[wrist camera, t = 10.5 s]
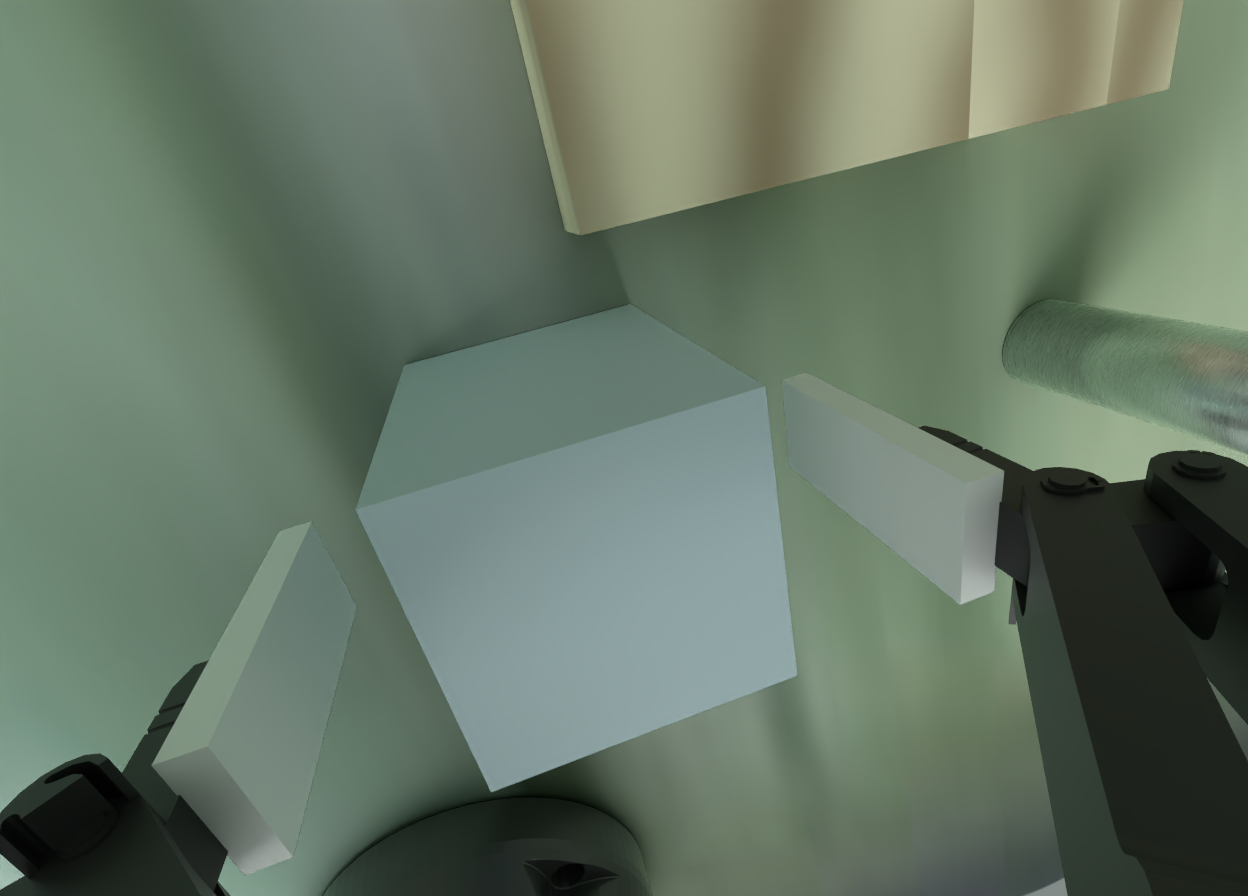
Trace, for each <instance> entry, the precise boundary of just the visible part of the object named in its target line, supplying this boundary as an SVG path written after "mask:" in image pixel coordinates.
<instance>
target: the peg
mask: <svg viewBox="0 0 1248 896" xmlns="http://www.w3.org/2000/svg"><path fill="white" fill-rule="evenodd" d="M1003 364H1004V367H1005V370H1006V371H1007V373H1008V374H1009V375H1010V376H1011V377H1012V378H1014V379H1016V380H1018V381H1021V382H1025V383H1028V384H1031V385H1034V386H1037V387H1040V388H1043V389H1046V390H1049V391H1052V392H1056V393H1059V394H1062V395H1065V396H1068V397H1071V398H1074V399H1077V400H1080V401H1084V402H1087V403H1090V404H1093V405H1096V406H1099V407H1102V408H1105V409H1108V410H1111V411H1115V412H1118V413H1121V414H1124V415H1127V416H1130V417H1133V418H1136V419H1139V420H1142V421H1146V422H1149V423H1152V424H1155V425H1158V426H1161V427H1164V428H1167V429H1170V430H1173V431H1177V432H1180V433H1183V434H1186V435H1189V436H1192V437H1195V438H1198V439H1201V440H1204V441H1208V442H1211V443H1214V444H1217V445H1220V446H1223V447H1226V448H1229V449H1232V450H1236V451H1239V452H1242V453H1245V454H1248V332H1247V331H1241V330H1235V329H1229V328H1223V327H1217V326H1211V325H1205V324H1199V323H1193V322H1187V321H1181V320H1175V319H1169V318H1163V317H1157V316H1151V315H1145V314H1139V313H1133V312H1127V311H1121V310H1115V309H1109V308H1103V307H1097V306H1091V305H1085V304H1079V303H1073V302H1067V301H1061V300H1055V299H1046V300H1042V301H1039V302H1037V303H1035V304H1033V305H1031V306H1030V307H1028V308H1027V309H1026V310H1025V311H1024V312H1022V314H1021V315H1020V316H1019V317H1018V318H1017V319H1016V320H1015V322H1014V323H1013V325H1012V326H1011V328H1010V330H1009V332H1008V334H1007V336H1006V339H1005V342H1004V346H1003Z"/></svg>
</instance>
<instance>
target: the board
mask: <svg viewBox="0 0 1248 896" xmlns="http://www.w3.org/2000/svg"><path fill="white" fill-rule="evenodd" d="M1183 2H1184V0H510V3H511V7H512V11H513V15H514V19H515V24H516V28H517V32H518V36H519V40H520V44H521V49H522V53H523V57H524V61H525V65H526V70H527V74H528V78H529V82H530V86H531V91H532V95H533V99H534V103H535V107H536V111H537V116H538V120H539V124H540V128H541V132H542V137H543V141H544V145H545V149H546V153H547V158H548V162H549V166H550V170H551V174H552V178H553V183H554V187H555V191H556V195H557V199H558V204H559V208H560V212H561V216H562V220H563V225H564V229H565V231H567V232H571V233H574V234H578V235H585V234H589V233H593V232H597V231H601V230H605V229H609V228H613V227H617V226H621V225H625V224H629V223H633V222H637V221H641V220H645V219H649V218H653V217H657V216H661V215H665V214H669V213H673V212H677V211H681V210H685V209H689V208H693V207H697V206H701V205H705V204H709V203H714V202H718V201H722V200H726V199H730V198H734V197H738V196H742V195H746V194H750V193H754V192H758V191H762V190H766V189H770V188H774V187H778V186H782V185H786V184H790V183H794V182H798V181H802V180H806V179H810V178H814V177H818V176H822V175H826V174H830V173H834V172H838V171H842V170H846V169H850V168H854V167H858V166H862V165H866V164H870V163H874V162H878V161H882V160H886V159H890V158H894V157H898V156H902V155H906V154H910V153H914V152H918V151H922V150H926V149H930V148H934V147H938V146H942V145H947V144H951V143H955V142H959V141H963V140H967V139H971V138H975V137H979V136H983V135H987V134H991V133H995V132H999V131H1003V130H1007V129H1011V128H1015V127H1019V126H1023V125H1027V124H1031V123H1035V122H1039V121H1043V120H1047V119H1051V118H1055V117H1059V116H1063V115H1067V114H1071V113H1075V112H1079V111H1083V110H1087V109H1091V108H1095V107H1099V106H1103V105H1107V104H1111V103H1115V102H1119V101H1123V100H1127V99H1131V98H1135V97H1139V96H1143V95H1147V94H1151V93H1155V92H1159V91H1163V90H1167V89H1169V85H1170V79H1171V73H1172V67H1173V61H1174V55H1175V50H1176V44H1177V38H1178V32H1179V26H1180V20H1181V14H1182V8H1183Z"/></svg>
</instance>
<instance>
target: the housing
mask: <svg viewBox="0 0 1248 896" xmlns="http://www.w3.org/2000/svg"><path fill="white" fill-rule="evenodd" d="M355 510H356V512H357V514H358V517H359V519H360V521H361V523H362V525H363V527H364V529H365V531H366V533H367V535H368V537H369V539H370V542H371V544H372V546H373V548H374V550H375V552H376V554H377V556H378V558H379V560H380V562H381V564H382V566H383V569H384V571H385V573H386V575H387V577H388V579H389V581H390V583H391V585H392V587H393V589H394V591H395V594H396V596H397V598H398V600H399V602H400V604H401V606H402V608H403V610H404V612H405V614H406V616H407V618H408V621H409V623H410V625H411V627H412V629H413V631H414V633H415V635H416V637H417V639H418V641H419V643H420V645H421V648H422V650H423V652H424V654H425V656H426V658H427V660H428V662H429V664H430V666H431V668H432V670H433V673H434V675H435V677H436V679H437V681H438V683H439V685H440V687H441V689H442V691H443V693H444V695H445V698H446V700H447V702H448V704H449V706H450V708H451V710H452V712H453V714H454V716H455V718H456V720H457V722H458V725H459V727H460V729H461V731H462V733H463V735H464V737H465V739H466V741H467V743H468V745H469V747H470V750H471V752H472V754H473V756H474V758H475V760H476V762H477V764H478V766H479V768H480V770H481V772H482V774H483V777H484V779H485V781H486V783H487V785H488V787H489V789H490V791H491V792H494V791H496V790H499V789H501V788H504V787H507V786H509V785H512V784H515V783H517V782H520V781H522V780H525V779H528V778H530V777H533V776H536V775H538V774H541V773H543V772H546V771H549V770H551V769H554V768H557V767H559V766H562V765H564V764H567V763H570V762H572V761H575V760H578V759H580V758H583V757H585V756H588V755H591V754H593V753H596V752H599V751H601V750H604V749H606V748H609V747H612V746H614V745H617V744H620V743H622V742H625V741H627V740H630V739H633V738H635V737H638V736H641V735H643V734H646V733H648V732H651V731H654V730H656V729H659V728H661V727H664V726H667V725H669V724H672V723H675V722H677V721H680V720H682V719H685V718H688V717H690V716H693V715H696V714H698V713H701V712H703V711H706V710H709V709H711V708H714V707H717V706H719V705H722V704H724V703H727V702H730V701H732V700H735V699H738V698H740V697H743V696H745V695H748V694H751V693H753V692H756V691H759V690H761V689H764V688H766V687H769V686H772V685H774V684H777V683H780V682H782V681H785V680H787V679H790V678H793V677H795V676H797V668H796V659H795V650H794V641H793V632H792V622H791V613H790V604H789V595H788V586H787V577H786V568H785V559H784V550H783V540H782V531H781V522H780V513H779V504H778V495H777V486H776V477H775V467H774V458H773V449H772V440H771V431H770V422H769V413H768V404H767V395H766V386H764V385H763V384H761V383H759V382H758V381H756V380H754V379H753V378H751V377H749V376H748V375H746V374H745V373H743V372H741V371H740V370H738V369H736V368H735V367H733V366H731V365H730V364H728V363H726V362H725V361H723V360H722V359H720V358H718V357H717V356H715V355H713V354H712V353H710V352H708V351H707V350H705V349H703V348H702V347H700V346H699V345H697V344H695V343H694V342H692V341H690V340H689V339H687V338H685V337H684V336H682V335H680V334H679V333H677V332H676V331H674V330H672V329H671V328H669V327H667V326H666V325H664V324H662V323H661V322H659V321H658V320H656V319H654V318H653V317H651V316H649V315H648V314H646V313H644V312H643V311H641V310H639V309H638V308H636V307H635V306H633V305H631V304H629V305H625V306H621V307H618V308H614V309H610V310H607V311H603V312H599V313H595V314H592V315H588V316H584V317H581V318H577V319H573V320H569V321H566V322H562V323H558V324H555V325H551V326H547V327H544V328H540V329H536V330H532V331H529V332H525V333H521V334H518V335H514V336H510V337H506V338H503V339H499V340H495V341H492V342H488V343H484V344H481V345H477V346H473V347H469V348H466V349H462V350H458V351H455V352H451V353H447V354H443V355H440V356H436V357H432V358H429V359H425V360H421V361H417V362H414V363H410V364H406V365H404V368H403V370H402V373H401V376H400V379H399V382H398V385H397V388H396V391H395V394H394V397H393V400H392V403H391V406H390V409H389V412H388V415H387V418H386V421H385V424H384V427H383V430H382V433H381V435H380V438H379V441H378V444H377V447H376V450H375V453H374V456H373V459H372V462H371V465H370V468H369V471H368V474H367V477H366V480H365V483H364V486H363V489H362V492H361V495H360V498H359V500H358V503H357V506H356V509H355Z"/></svg>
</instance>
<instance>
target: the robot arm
mask: <svg viewBox="0 0 1248 896" xmlns="http://www.w3.org/2000/svg"><path fill="white" fill-rule="evenodd" d="M781 384H782V394H783V404H784V415H785V425H786V435H787V446H788V456H789V466H790V467H791V468H792V469H793V470H794V471H796V472H797V473H798V474H799V475H800V476H802V477H803V478H804V479H805V480H807V481H808V482H809V483H810V484H812V485H813V486H814V487H815V488H817V489H818V490H819V491H820V492H821V493H823V494H824V495H825V496H826V497H828V498H829V499H830V500H831V501H833V502H834V503H835V504H836V505H838V506H839V507H840V508H841V509H843V510H844V511H845V512H846V513H847V514H849V515H850V516H851V517H852V518H854V519H855V520H856V521H857V522H859V523H860V524H861V525H862V526H864V527H865V528H866V529H867V530H868V531H870V532H871V533H872V534H873V535H875V536H876V537H877V538H878V539H880V540H881V541H882V542H883V543H885V544H886V545H887V546H888V547H890V548H891V549H892V550H893V551H894V552H896V553H897V554H898V555H899V556H901V557H902V558H903V559H904V560H906V561H907V562H908V563H909V564H911V565H912V566H913V567H914V568H915V569H917V570H918V571H919V572H920V573H922V574H923V575H924V576H925V577H927V578H928V579H929V580H930V581H932V582H933V583H934V584H935V585H937V586H938V587H939V588H940V589H941V590H943V591H944V592H945V593H946V594H948V595H949V596H950V597H951V598H953V599H954V600H955V601H956V602H958V603H959V604H960V605H961V604H964V603H966V602H969V601H971V600H974V599H977V598H979V597H982V596H985V595H987V594H990V593H993V592H994V586H995V574H996V566H997V567H998V568H999V569H1001V570H1002V571H1004V572H1005V573H1007V574H1008V575H1010V576H1011V577H1013V585H1012V594H1011V604H1010V614H1009V624H1016V620H1017V625H1018V631H1019V636H1020V642H1021V647H1022V652H1023V658H1024V663H1025V668H1026V674H1027V679H1028V685H1029V690H1030V695H1031V701H1032V706H1033V711H1034V717H1035V722H1036V728H1037V733H1038V738H1039V744H1040V749H1041V754H1042V760H1043V765H1044V771H1045V776H1046V781H1047V787H1048V792H1049V797H1050V803H1051V808H1052V814H1053V819H1054V824H1055V830H1056V835H1057V840H1058V846H1059V851H1060V857H1061V862H1062V867H1063V873H1064V878H1065V883H1066V888H1067V894H1068V896H1248V761H1247V759H1246V757H1245V755H1244V753H1243V751H1242V749H1241V747H1240V745H1239V743H1238V741H1237V739H1236V737H1235V735H1234V733H1233V731H1232V729H1231V727H1230V725H1229V723H1228V721H1227V718H1226V716H1225V714H1224V712H1223V710H1222V708H1221V706H1220V704H1219V702H1218V700H1217V698H1216V696H1215V694H1214V692H1213V690H1212V688H1211V686H1210V684H1209V682H1208V680H1207V678H1208V679H1209V681H1210V682H1211V683H1212V684H1213V685H1214V686H1215V687H1216V689H1217V690H1218V691H1219V692H1220V693H1221V694H1222V696H1223V697H1224V698H1225V699H1226V700H1227V701H1228V703H1229V704H1230V705H1231V706H1232V707H1233V708H1234V710H1235V711H1236V712H1237V713H1238V714H1239V715H1240V716H1241V718H1242V719H1243V720H1244V721H1245V722H1246V723H1247V725H1248V467H1247V466H1245V465H1243V464H1241V463H1239V462H1237V461H1235V460H1233V459H1231V458H1227V457H1224V456H1220V455H1216V454H1214V453H1211V452H1205V451H1202V452H1200V451H1196V450H1188V451H1172V452H1166V453H1161V454H1158V455H1156V456H1155V457H1153V458H1151V459H1150V462H1149V465H1148V470H1147V475H1146V479H1143V480H1135V481H1127V482H1118V483H1110V484H1109V483H1108V482H1107V481H1106V480H1105V479H1104V478H1102V477H1100V476H1098V475H1096V474H1094V473H1091V472H1087V471H1083V470H1079V469H1074V468H1063V467H1054V468H1042V469H1039V470H1035V471H1032V470H1030V469H1028V468H1026V467H1023V466H1021V465H1019V464H1017V463H1015V462H1013V461H1011V460H1009V459H1007V458H1004V457H1002V456H1000V455H998V454H996V453H994V452H992V451H990V450H987V449H984V450H983V448H982V447H981V446H979V445H977V444H975V443H973V442H967V440H966V439H964V438H962V437H960V436H958V435H956V434H954V433H951V432H949V431H946V430H941V429H937V428H932V427H928V426H922V427H919V428H917V427H915V426H913V425H911V424H909V423H907V422H905V421H903V420H901V419H899V418H897V417H895V416H893V415H891V414H889V413H887V412H885V411H883V410H881V409H879V408H877V407H875V406H873V405H871V404H869V403H867V402H865V401H863V400H861V399H859V398H857V397H855V396H853V395H851V394H849V393H847V392H845V391H843V390H841V389H839V388H836V387H834V386H832V385H830V384H828V383H826V382H824V381H822V380H820V379H818V378H816V377H814V376H812V375H810V374H808V373H803V374H799V375H796V376H793V377H789V378H786V379H783V380H781ZM1225 569H1226V571H1227V573H1226V572H1225ZM356 609H357V606H356V604H355V603H354V601H353V599H352V597H351V595H350V593H349V591H348V589H347V587H346V585H345V583H344V582H343V580H342V578H341V576H340V574H339V572H338V570H337V568H336V566H335V564H334V562H333V561H332V559H331V557H330V555H329V553H328V551H327V549H326V547H325V545H324V543H323V541H322V540H321V538H320V536H319V534H318V532H317V530H316V528H315V526H314V524H313V522H312V521H311V522H307V523H304V524H301V525H297V526H294V527H291V528H287V529H284V530H281V531H279V533H278V535H277V537H276V538H275V540H274V542H273V544H272V546H271V548H270V549H269V551H268V553H267V555H266V557H265V558H264V560H263V562H262V564H261V566H260V568H259V569H258V571H257V573H256V575H255V577H254V579H253V580H252V582H251V584H250V586H249V588H248V590H247V591H246V593H245V595H244V597H243V599H242V601H241V602H240V604H239V606H238V608H237V610H236V612H235V613H234V615H233V617H232V619H231V621H230V623H229V624H228V626H227V628H226V630H225V632H224V634H223V635H222V637H221V639H220V641H219V643H218V645H217V646H216V648H215V650H214V652H213V654H212V656H211V657H210V659H209V661H206V662H203V663H200V664H197V665H194V666H193V667H192V668H191V669H190V670H189V671H188V673H187V674H186V675H185V676H184V677H183V678H182V679H181V680H180V681H179V682H178V683H177V684H176V685H175V686H174V687H173V688H172V689H171V691H170V693H169V694H168V696H167V698H166V699H165V701H164V703H163V705H162V706H161V708H160V710H159V715H157V716H155V718H154V720H153V721H152V723H151V725H150V727H149V728H148V734H146V735H144V737H143V738H142V740H141V742H140V743H139V745H138V747H137V749H136V750H135V752H134V754H133V755H132V757H131V759H130V760H129V762H128V764H127V765H126V767H125V769H124V771H123V772H122V773H121V772H120V771H119V770H118V769H117V768H116V766H115V765H114V764H113V763H112V762H111V761H110V760H109V759H108V758H107V757H105V756H103V755H102V754H90V755H84V756H81V757H78V758H76V759H73V760H71V761H68V762H65V763H64V764H62V765H60V766H58V767H57V768H55V769H53V770H51V771H50V772H48V773H46V774H45V775H43V776H41V777H40V778H39V779H37V780H36V781H35V782H34V783H32V784H31V785H30V786H28V787H27V788H26V789H24V790H23V791H22V792H20V793H19V794H18V795H17V796H16V797H15V798H14V799H13V800H12V801H11V802H10V803H9V804H8V805H7V806H6V807H5V808H4V809H3V810H2V812H1V813H0V854H1V855H2V856H4V857H5V858H6V859H7V860H8V861H9V862H10V863H11V864H13V865H14V866H15V867H16V868H17V869H18V870H19V871H21V872H22V873H23V874H24V875H25V876H24V877H22V878H20V879H18V880H17V881H15V882H13V883H11V884H10V885H8V886H6V887H5V888H3V889H1V890H0V896H230V895H229V894H228V892H227V891H226V890H225V889H224V888H223V887H222V885H221V884H220V883H219V882H218V878H219V876H220V873H221V870H222V867H223V864H224V862H225V859H226V856H227V855H228V856H229V858H230V859H231V860H232V861H233V862H234V863H235V865H236V866H237V867H238V868H239V869H240V871H241V872H242V873H243V874H244V875H248V874H251V873H253V872H256V871H259V870H261V869H264V868H267V867H269V866H272V865H274V864H277V863H280V862H282V861H285V860H288V859H290V858H293V857H294V853H295V849H296V845H297V841H298V837H299V833H300V829H301V825H302V821H303V817H304V814H305V810H306V806H307V802H308V798H309V794H310V790H311V786H312V782H313V778H314V774H315V770H316V766H317V762H318V758H319V754H320V750H321V747H322V743H323V739H324V735H325V731H326V727H327V723H328V719H329V715H330V711H331V707H332V703H333V699H334V695H335V691H336V687H337V683H338V680H339V676H340V672H341V668H342V664H343V660H344V656H345V652H346V648H347V644H348V640H349V636H350V632H351V628H352V624H353V620H354V616H355V613H356ZM1206 677H1207V678H1206ZM323 896H653V894H652V891H651V887H650V883H649V880H648V876H647V872H646V869H645V865H644V862H643V858H642V854H641V851H640V849H639V846H638V845H637V843H636V841H635V839H634V838H633V836H632V835H631V834H630V833H629V832H628V830H627V829H626V828H625V827H624V826H622V825H621V824H620V823H619V822H618V821H616V820H615V819H613V818H612V817H610V816H609V815H607V814H605V813H603V812H601V811H599V810H597V809H594V808H592V807H589V806H586V805H583V804H579V803H575V802H571V801H566V800H559V799H551V798H509V799H499V800H492V801H486V802H481V803H476V804H471V805H467V806H463V807H459V808H456V809H452V810H449V811H446V812H443V813H440V814H437V815H434V816H431V817H429V818H426V819H424V820H422V821H419V822H417V823H415V824H412V825H410V826H408V827H406V828H404V829H402V830H400V831H398V832H396V833H395V834H393V835H391V836H389V837H388V838H386V839H384V840H383V841H381V842H379V843H378V844H376V845H375V846H373V847H372V848H370V849H369V850H367V851H366V852H365V853H364V854H362V855H361V856H360V857H358V858H357V859H356V860H355V861H354V862H352V863H351V864H350V865H349V866H348V867H347V868H346V869H345V870H344V871H343V872H342V873H341V874H340V875H339V876H338V877H337V878H336V879H335V880H334V881H333V882H332V884H331V885H330V886H329V887H328V889H327V890H326V891H325V893H324V894H323Z"/></svg>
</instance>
